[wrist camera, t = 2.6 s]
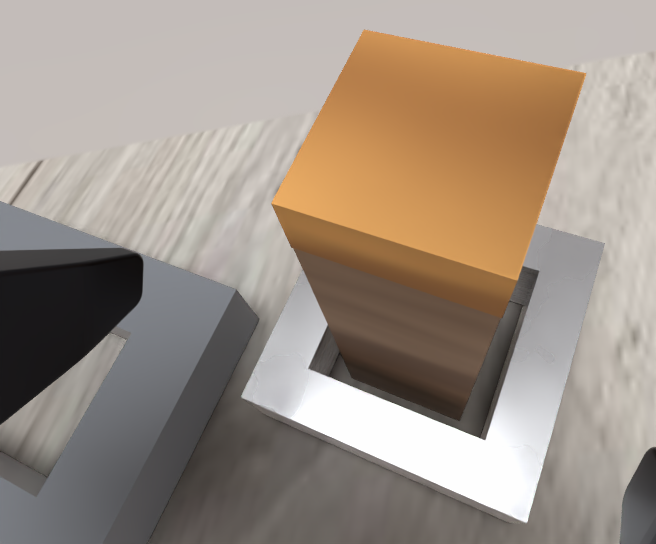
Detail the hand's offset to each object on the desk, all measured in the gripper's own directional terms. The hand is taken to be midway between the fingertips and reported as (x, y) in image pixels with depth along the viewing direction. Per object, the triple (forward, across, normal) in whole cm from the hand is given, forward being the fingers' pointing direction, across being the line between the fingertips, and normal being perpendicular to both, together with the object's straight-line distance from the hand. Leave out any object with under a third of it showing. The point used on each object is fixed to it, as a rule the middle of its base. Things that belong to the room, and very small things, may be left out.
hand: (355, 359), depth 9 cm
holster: (+10, 0, +5) cm, 11 cm away
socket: (+5, +12, +10) cm, 16 cm away
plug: (+10, 0, +5) cm, 11 cm away
